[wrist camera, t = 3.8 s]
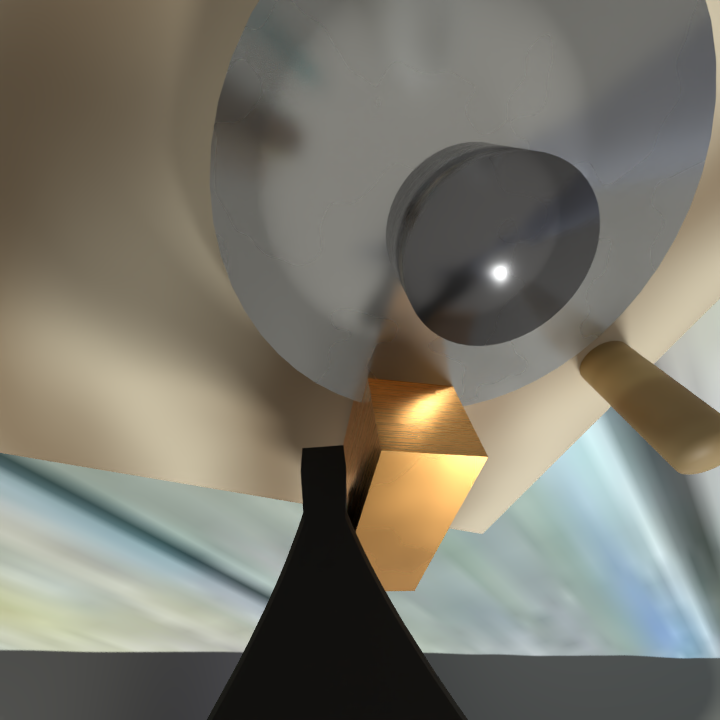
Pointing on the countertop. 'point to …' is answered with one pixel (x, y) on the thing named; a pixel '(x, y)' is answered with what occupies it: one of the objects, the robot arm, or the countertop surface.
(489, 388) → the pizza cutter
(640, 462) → the countertop surface
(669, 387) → the board
